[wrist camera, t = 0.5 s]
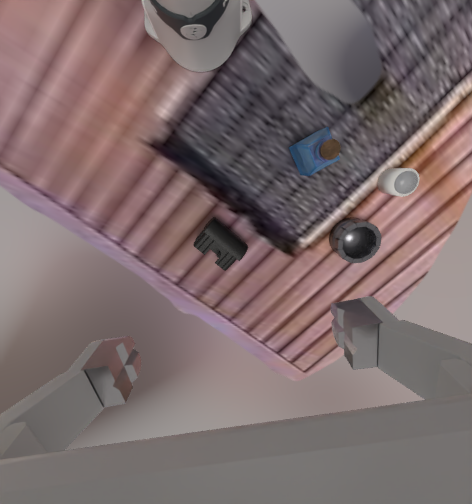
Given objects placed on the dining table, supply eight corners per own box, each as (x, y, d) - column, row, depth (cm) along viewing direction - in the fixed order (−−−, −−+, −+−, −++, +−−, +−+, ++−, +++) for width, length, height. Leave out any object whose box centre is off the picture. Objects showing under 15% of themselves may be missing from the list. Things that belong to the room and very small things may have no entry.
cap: (378, 169, 51) (394, 169, 46) (404, 167, 51) (422, 167, 46) (375, 194, 52) (390, 197, 47) (400, 192, 52) (417, 195, 47)
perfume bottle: (300, 175, 51) (319, 176, 39) (288, 147, 49) (305, 141, 38) (327, 160, 50) (355, 157, 39) (316, 131, 48) (342, 120, 37)
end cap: (247, 241, 56) (249, 251, 49) (227, 262, 58) (227, 274, 51) (215, 213, 53) (212, 220, 47) (195, 236, 55) (190, 245, 49)
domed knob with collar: (330, 219, 54) (339, 224, 49) (370, 215, 54) (383, 220, 49) (328, 256, 57) (336, 264, 53) (366, 253, 57) (378, 261, 52)
